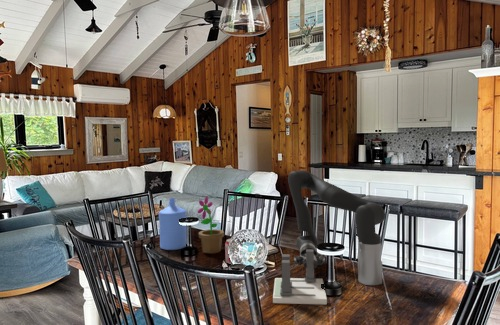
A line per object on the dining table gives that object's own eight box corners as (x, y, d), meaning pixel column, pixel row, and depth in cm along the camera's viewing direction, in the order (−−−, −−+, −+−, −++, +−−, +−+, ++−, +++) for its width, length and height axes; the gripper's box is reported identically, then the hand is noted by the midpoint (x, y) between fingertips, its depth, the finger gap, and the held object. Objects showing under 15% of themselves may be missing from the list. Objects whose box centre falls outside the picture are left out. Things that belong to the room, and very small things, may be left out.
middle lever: (291, 284, 153) (291, 254, 152) (291, 288, 149) (291, 257, 148) (281, 284, 153) (280, 253, 152) (280, 287, 149) (280, 257, 148)
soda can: (237, 266, 182) (237, 242, 182) (223, 265, 184) (223, 241, 183) (241, 261, 189) (240, 238, 189) (227, 261, 191) (227, 237, 190)
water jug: (184, 250, 211) (182, 200, 209) (156, 250, 211) (154, 201, 209) (189, 242, 226) (187, 196, 224) (163, 242, 227) (161, 196, 225)
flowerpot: (210, 245, 219) (209, 194, 217) (229, 249, 211) (228, 196, 209) (193, 251, 208) (191, 198, 205) (213, 256, 199) (211, 200, 197)
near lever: (292, 291, 146) (291, 259, 145) (292, 295, 142) (291, 263, 141) (280, 291, 146) (280, 259, 145) (280, 295, 142) (279, 263, 141)
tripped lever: (315, 278, 158) (314, 249, 158) (315, 281, 154) (315, 251, 154) (304, 277, 159) (304, 248, 158) (305, 281, 155) (304, 251, 154)
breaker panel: (322, 283, 159) (322, 278, 159) (326, 304, 139) (326, 298, 139) (275, 282, 161) (275, 277, 161) (272, 303, 142) (272, 297, 141)
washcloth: (263, 257, 196) (263, 251, 196) (241, 250, 210) (241, 245, 209) (279, 252, 204) (279, 247, 204) (257, 246, 218) (256, 240, 217)
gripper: (292, 244, 171) (292, 256, 154) (324, 244, 169) (327, 257, 152) (293, 260, 171) (293, 274, 154) (324, 261, 170) (328, 275, 153)
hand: (310, 266), depth 153 cm, fingers closed on tripped lever, 3 cm apart
